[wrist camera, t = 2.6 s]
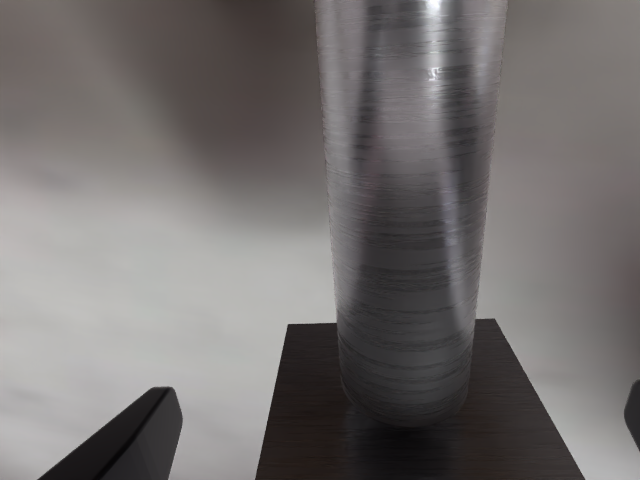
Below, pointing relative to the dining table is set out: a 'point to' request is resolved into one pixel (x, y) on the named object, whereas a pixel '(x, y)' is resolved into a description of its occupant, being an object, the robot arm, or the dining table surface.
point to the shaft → (408, 264)
